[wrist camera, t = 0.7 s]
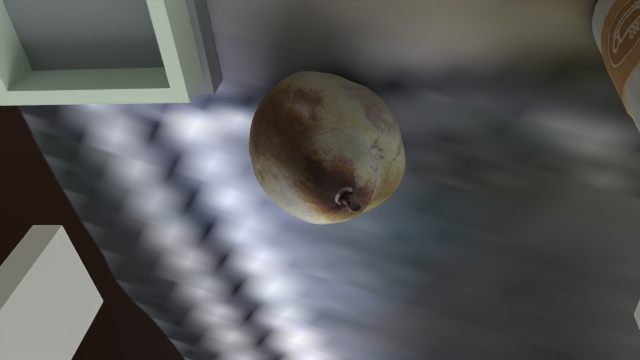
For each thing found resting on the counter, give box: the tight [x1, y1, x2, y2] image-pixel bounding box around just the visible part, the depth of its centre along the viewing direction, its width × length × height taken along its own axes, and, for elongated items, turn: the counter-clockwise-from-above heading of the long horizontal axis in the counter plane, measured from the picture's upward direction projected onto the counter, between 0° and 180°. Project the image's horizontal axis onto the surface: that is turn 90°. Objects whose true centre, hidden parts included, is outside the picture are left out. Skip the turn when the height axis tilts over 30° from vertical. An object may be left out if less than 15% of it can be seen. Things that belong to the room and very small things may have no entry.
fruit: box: [249, 71, 405, 224], centre depth 34 cm, size 10×9×12 cm
